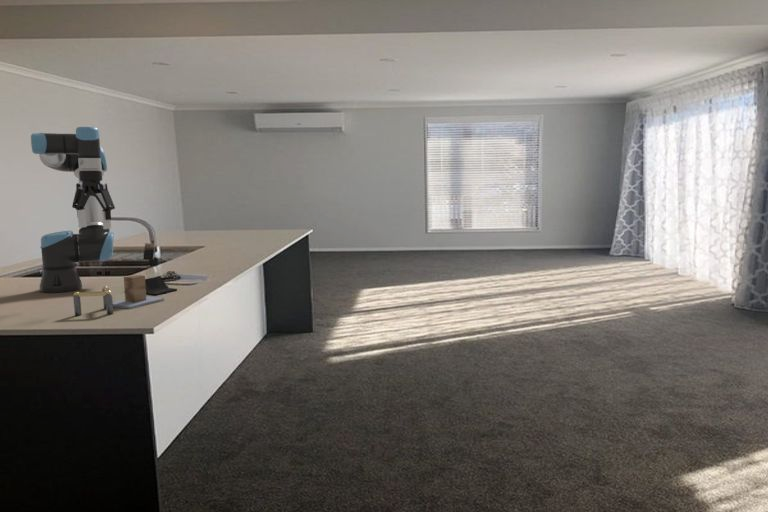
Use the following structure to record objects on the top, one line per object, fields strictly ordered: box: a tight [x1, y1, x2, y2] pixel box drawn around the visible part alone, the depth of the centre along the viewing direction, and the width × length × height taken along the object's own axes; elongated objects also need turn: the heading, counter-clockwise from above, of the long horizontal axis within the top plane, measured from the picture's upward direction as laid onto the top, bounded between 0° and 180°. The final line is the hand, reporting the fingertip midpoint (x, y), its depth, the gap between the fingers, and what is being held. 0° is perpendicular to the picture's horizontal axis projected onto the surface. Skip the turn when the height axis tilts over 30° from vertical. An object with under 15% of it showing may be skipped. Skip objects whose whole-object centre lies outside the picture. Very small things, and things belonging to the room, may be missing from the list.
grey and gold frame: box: [72, 285, 114, 317], centre depth 200 cm, size 10×13×8 cm
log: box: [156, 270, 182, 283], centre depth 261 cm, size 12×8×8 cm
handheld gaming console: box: [145, 275, 178, 297], centre depth 234 cm, size 12×7×10 cm
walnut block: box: [123, 274, 147, 303], centre depth 214 cm, size 5×5×9 cm
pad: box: [113, 295, 165, 310], centre depth 215 cm, size 12×15×1 cm
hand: (94, 228), depth 220 cm, fingers open, 13 cm apart
